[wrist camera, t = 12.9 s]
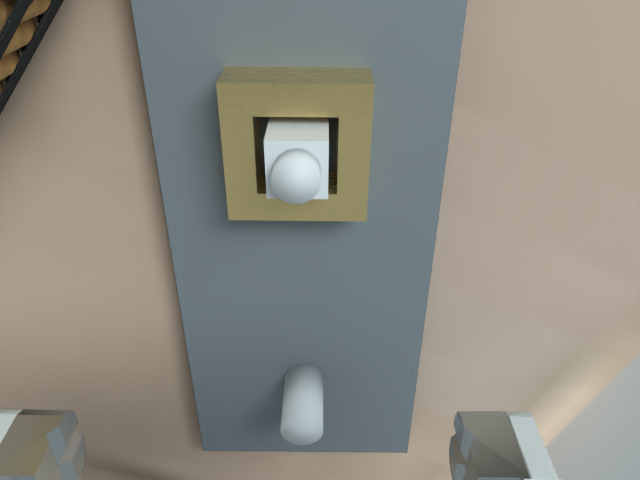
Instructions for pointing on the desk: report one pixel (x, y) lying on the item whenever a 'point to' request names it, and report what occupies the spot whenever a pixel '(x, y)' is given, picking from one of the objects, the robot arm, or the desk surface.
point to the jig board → (302, 236)
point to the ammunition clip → (21, 38)
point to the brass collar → (295, 101)
